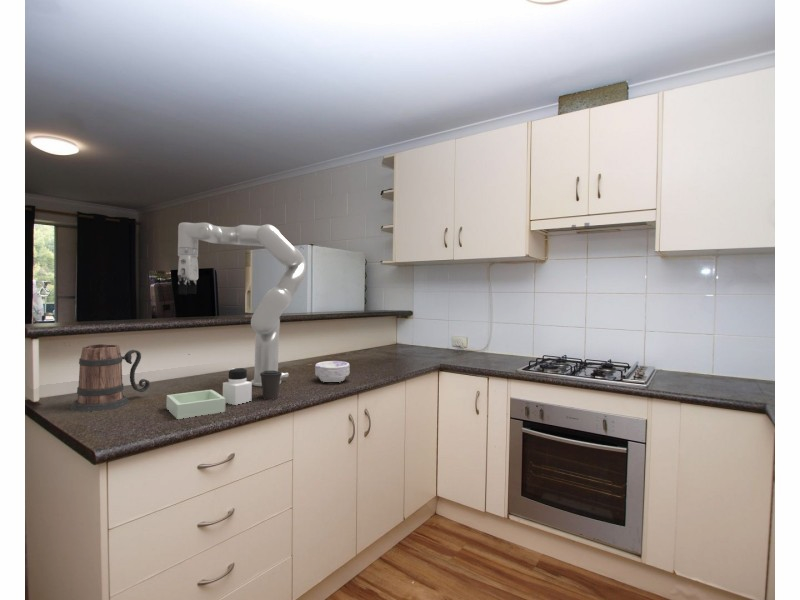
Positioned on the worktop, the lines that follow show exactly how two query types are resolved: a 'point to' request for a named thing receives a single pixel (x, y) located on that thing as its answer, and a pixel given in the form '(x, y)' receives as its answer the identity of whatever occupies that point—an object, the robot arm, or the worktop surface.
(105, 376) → the tankard
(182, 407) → the box
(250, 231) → the robot arm
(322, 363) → the white ceramic bowl
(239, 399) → the medicine bottle
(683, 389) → the worktop surface
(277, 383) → the coffee cup
